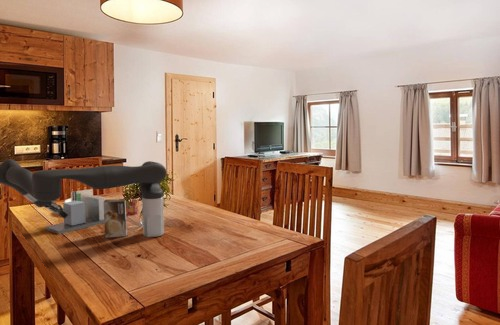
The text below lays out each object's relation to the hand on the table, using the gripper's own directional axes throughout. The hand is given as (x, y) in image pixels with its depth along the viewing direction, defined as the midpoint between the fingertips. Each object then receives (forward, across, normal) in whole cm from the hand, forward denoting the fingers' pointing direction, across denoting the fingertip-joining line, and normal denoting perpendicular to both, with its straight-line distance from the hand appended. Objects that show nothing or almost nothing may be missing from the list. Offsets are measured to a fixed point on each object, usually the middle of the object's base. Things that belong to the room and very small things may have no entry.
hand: (65, 216), depth 167 cm
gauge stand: (+7, +1, -1) cm, 7 cm away
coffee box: (+10, +28, +1) cm, 30 cm away
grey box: (+6, 0, 0) cm, 6 cm away
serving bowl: (+22, -25, +13) cm, 35 cm away
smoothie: (+30, +2, +22) cm, 37 cm away
